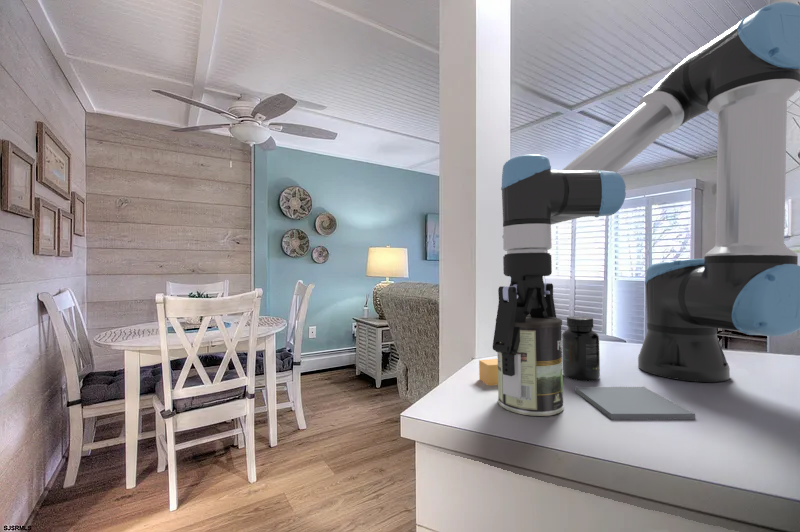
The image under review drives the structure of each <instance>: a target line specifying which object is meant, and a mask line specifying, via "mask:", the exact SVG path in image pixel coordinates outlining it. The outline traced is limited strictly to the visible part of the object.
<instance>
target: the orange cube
mask: <svg viewBox="0 0 800 532" xmlns="http://www.w3.org/2000/svg"><path fill="white" fill-rule="evenodd" d="M478 363H479V364H478V365H479V367H478V368H479V373H478V374H479V377H478V378H479V381H481V380H482V381H483V382H482V381H481V382H482V383H484V384H485V385H486V386H488V387H492V386H498V358H491V359H479V360H478Z"/></svg>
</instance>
